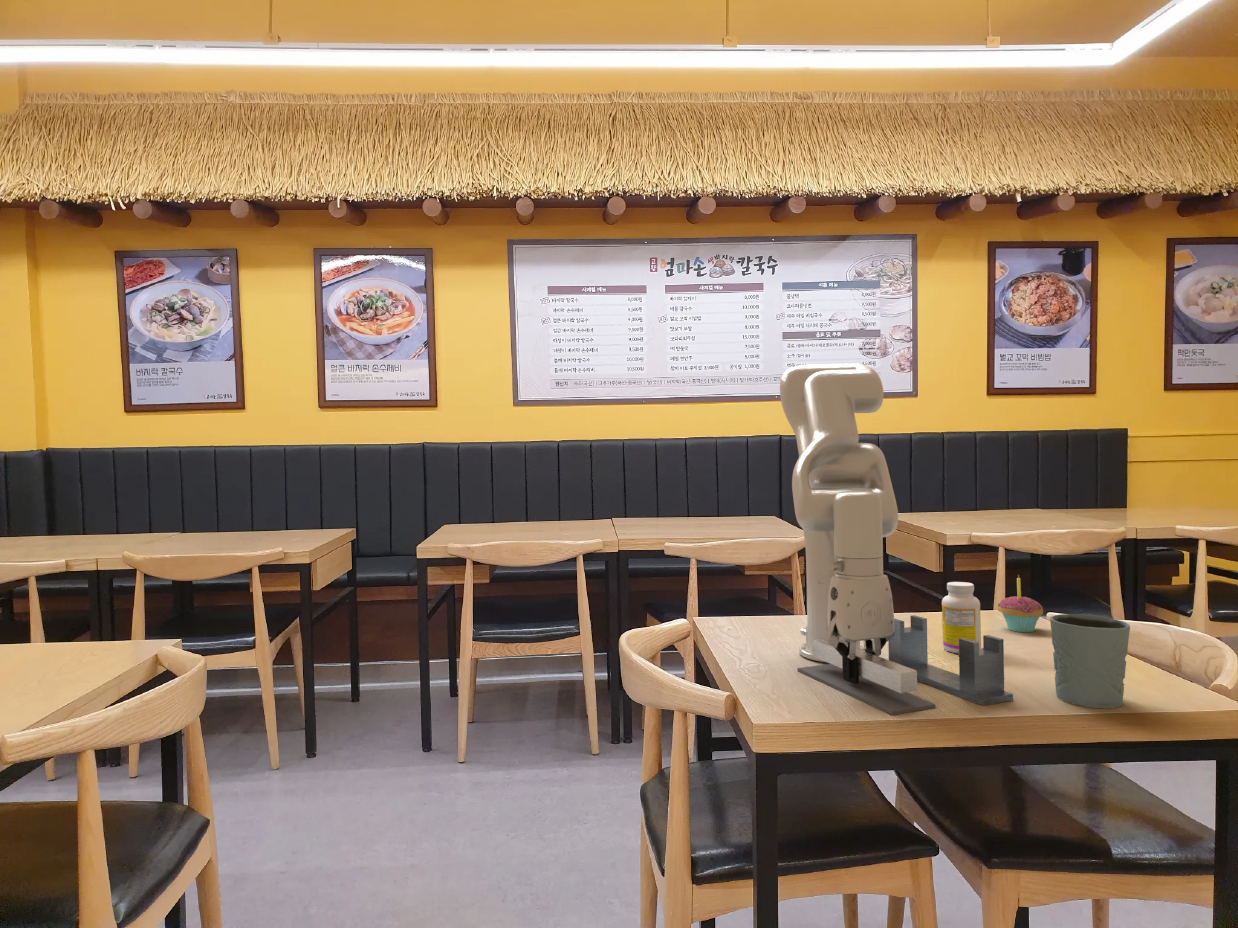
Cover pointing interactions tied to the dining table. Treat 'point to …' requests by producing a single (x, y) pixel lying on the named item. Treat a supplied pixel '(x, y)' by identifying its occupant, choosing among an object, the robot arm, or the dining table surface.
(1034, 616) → the cupcake
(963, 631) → the supplement bottle
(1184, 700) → the dining table surface
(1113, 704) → the green planter pot
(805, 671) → the mat
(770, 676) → the dining table surface
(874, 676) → the rail
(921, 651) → the rack
